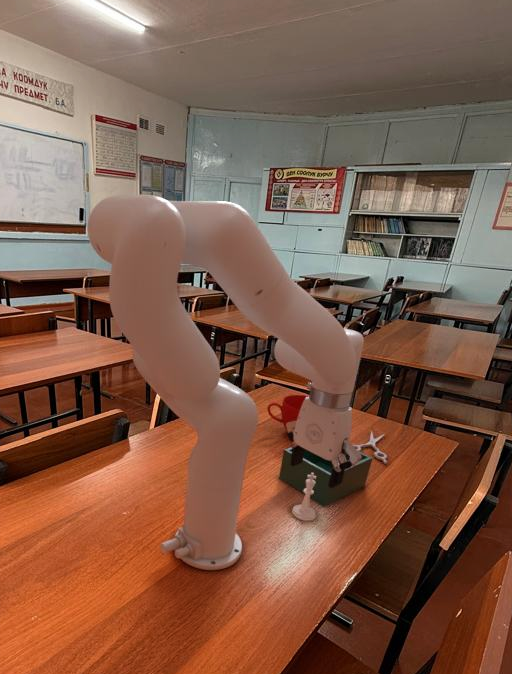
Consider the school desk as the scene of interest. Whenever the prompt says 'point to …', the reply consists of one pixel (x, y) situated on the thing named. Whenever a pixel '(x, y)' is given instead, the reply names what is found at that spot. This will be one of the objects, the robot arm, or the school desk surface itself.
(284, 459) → the bin
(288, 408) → the ceramic cup
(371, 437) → the scissors
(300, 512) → the chess piece
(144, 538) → the school desk surface
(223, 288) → the robot arm
